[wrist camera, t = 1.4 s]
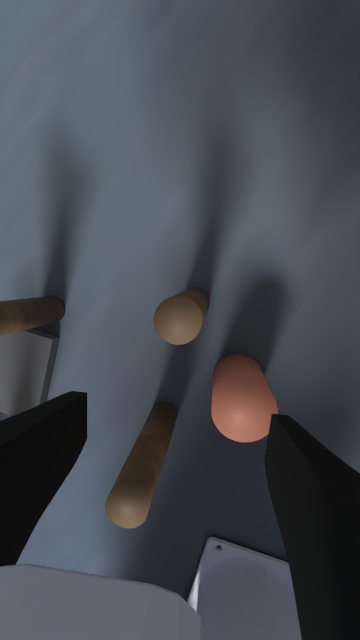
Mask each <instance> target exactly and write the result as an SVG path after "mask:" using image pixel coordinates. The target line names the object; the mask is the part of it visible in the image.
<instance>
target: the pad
mask: <svg viewBox="0 0 360 640" xmlns="http://www.w3.org/2000/svg"><path fill="white" fill-rule="evenodd" d="M58 341H59V337H57V336H54V335H51V334H47V333H44V332H41V331H37V330H34V329H31V328H30V329H26V330H23V331H19V332H15V333H11V334H8V335H4V336H0V412H1V413H4V414H7V415H10V416H14V415H17V414H19V413H22V412H24V411H27V410H29V409H31V408H33V407H36V406H38V405H40V404H42V403H45V402H46V398H47V394H48V389H49V384H50V379H51V375H52V370H53V365H54V360H55V356H56V351H57V346H58Z"/></svg>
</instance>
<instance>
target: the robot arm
mask: <svg viewBox="0 0 360 640" xmlns="http://www.w3.org/2000/svg"><path fill="white" fill-rule="evenodd" d="M86 440H87V393H84V392H75V391H71V392H68V393H65V394H63V395H60V396H58V397H56V398H53V399H51V400H49V401H47V402H45V403H42V404H40V405H38V406H36V407H33V408H31V409H29V410H27V411H24V412H22V413H19V414H17V415H14V416H12V417H9V418H7V419H4V420H2V421H0V640H360V473H359V472H357V471H356V470H354V469H353V468H351V467H350V466H349V465H347V464H346V463H345V462H343V461H342V460H341V459H339V458H338V457H337V456H336V455H334V454H333V453H332V452H331V451H329V450H328V449H327V448H326V447H324V446H323V445H322V444H321V443H320V442H319V441H317V440H316V439H315V438H314V437H313V436H312V435H311V434H309V433H308V432H307V431H306V430H305V429H304V428H303V427H302V426H300V425H299V424H298V423H297V422H296V421H295V420H294V419H292V418H291V417H290V416H288V415H280V414H272V415H271V422H270V428H269V435H268V441H267V448H266V454H265V468H266V475H267V482H268V488H269V491H270V495H271V499H272V503H273V506H274V510H275V513H276V517H277V521H278V524H279V528H280V531H281V535H282V539H283V542H284V546H285V550H286V554H287V558H288V562H289V563H288V562H285V561H282V560H280V559H277V558H274V557H271V556H268V555H265V554H262V553H259V552H256V551H253V550H250V549H248V548H245V547H242V546H239V545H236V544H233V543H230V542H227V541H224V540H221V539H219V538H216V537H210V538H208V539H207V542H206V545H205V548H204V551H203V554H202V557H201V560H200V563H199V566H198V569H197V572H196V575H195V578H194V581H193V585H192V588H191V591H190V594H189V597H188V600H187V602H186V601H185V600H184V599H183V598H182V597H181V596H180V595H179V594H178V593H175V592H172V591H170V590H167V589H164V588H162V587H159V586H156V585H154V584H150V583H144V582H137V581H131V580H125V579H119V578H113V577H107V576H100V575H94V574H88V573H82V572H76V571H70V570H64V569H57V568H51V567H45V566H39V565H33V564H23V565H16V563H17V561H18V559H19V557H20V555H21V553H22V551H23V549H24V547H25V545H26V543H27V541H28V539H29V537H30V535H31V533H32V532H33V530H34V528H35V526H36V524H37V522H38V521H39V519H40V517H41V516H42V514H43V512H44V511H45V509H46V508H47V506H48V505H49V503H50V502H51V500H52V499H53V497H54V495H55V494H56V492H57V491H58V489H59V488H60V486H61V485H62V483H63V482H64V480H65V479H66V477H67V475H68V474H69V472H70V471H71V469H72V468H73V466H74V464H75V463H76V461H77V459H78V457H79V455H80V453H81V451H82V449H83V447H84V444H85V442H86ZM218 545H220V546H221V547H217V546H218Z"/></svg>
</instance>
